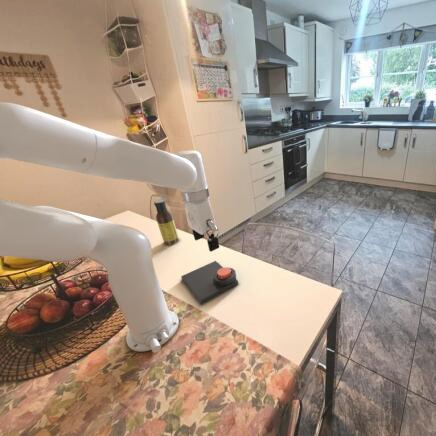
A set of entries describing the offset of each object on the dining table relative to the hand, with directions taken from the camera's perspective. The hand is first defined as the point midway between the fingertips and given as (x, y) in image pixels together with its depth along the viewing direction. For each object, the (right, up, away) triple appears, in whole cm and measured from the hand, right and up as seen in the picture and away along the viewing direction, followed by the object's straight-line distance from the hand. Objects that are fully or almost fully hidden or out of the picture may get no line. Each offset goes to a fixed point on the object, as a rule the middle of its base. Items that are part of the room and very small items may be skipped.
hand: (206, 243), depth 79 cm
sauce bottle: (-26, -2, +30) cm, 40 cm away
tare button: (+5, -11, +3) cm, 12 cm away
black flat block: (-1, -14, +5) cm, 15 cm away
